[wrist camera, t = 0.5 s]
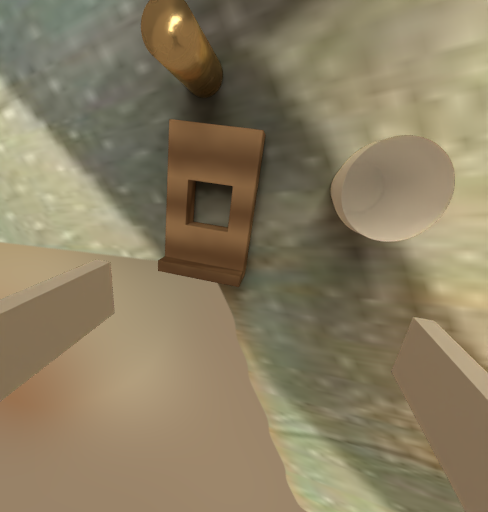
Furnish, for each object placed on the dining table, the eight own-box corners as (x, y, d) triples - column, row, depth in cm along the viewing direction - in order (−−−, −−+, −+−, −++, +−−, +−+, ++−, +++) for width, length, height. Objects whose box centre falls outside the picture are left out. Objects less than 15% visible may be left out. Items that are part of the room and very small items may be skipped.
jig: (179, 124, 33) (161, 115, 28) (265, 134, 31) (261, 126, 27) (173, 260, 39) (158, 270, 35) (244, 274, 38) (238, 287, 33)
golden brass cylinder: (186, 50, 30) (140, -10, 21) (224, 53, 30) (195, -7, 20) (184, 95, 32) (141, 59, 22) (220, 99, 31) (191, 63, 22)
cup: (307, 182, 32) (318, 183, 21) (369, 134, 29) (420, 105, 18) (345, 235, 33) (374, 262, 22) (408, 193, 31) (479, 200, 19)
